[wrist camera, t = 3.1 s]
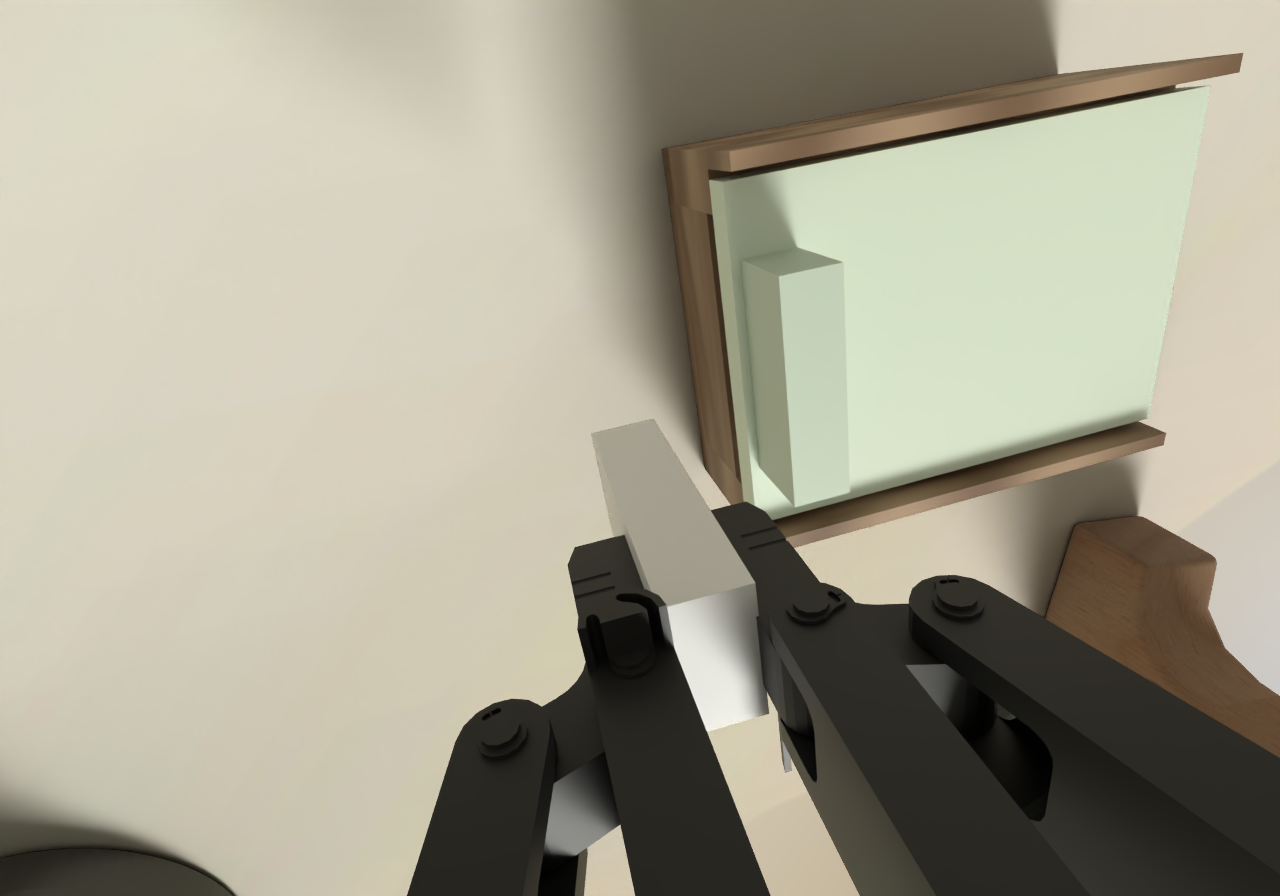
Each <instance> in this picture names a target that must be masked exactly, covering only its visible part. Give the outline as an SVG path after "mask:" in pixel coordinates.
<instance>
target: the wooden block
mask: <svg viewBox="0 0 1280 896" xmlns="http://www.w3.org/2000/svg"><path fill="white" fill-rule="evenodd" d="M1216 565H1217V563H1216V559H1215V558H1214V557H1213V556H1212V555H1211V554H1209V553H1207V552H1205V551H1204V550H1202V549H1200V548H1198V547H1196V546H1195V545H1193V544H1191V543H1189V542H1188V541H1186V540H1184V539H1182V538H1180V537H1179V536H1177V535H1175V534H1173V533H1171V532H1170V531H1168V530H1166V529H1164V528H1162V527H1161V526H1159V525H1157V524H1155V523H1153V522H1152V521H1150V520H1148V519H1146V518H1144V517H1140V516H1134V517H1125V518H1117V519H1109V520H1100V521H1092V522H1083V523H1079V524H1077V525H1076V526H1075V527H1074V530H1073V533H1072V536H1071V539H1070V542H1069V545H1068V548H1067V551H1066V555H1065V558H1064V561H1063V564H1062V567H1061V570H1060V573H1059V576H1058V579H1057V583H1056V586H1055V589H1054V592H1053V595H1052V598H1051V601H1050V604H1049V608H1048V611H1047V614H1046V617H1045V619H1047V620H1048V621H1050V622H1052V623H1053V624H1055V625H1057V626H1058V627H1060V628H1062V629H1063V630H1065V631H1067V632H1068V633H1070V634H1072V635H1073V636H1075V637H1077V638H1079V639H1080V640H1082V641H1084V642H1085V643H1087V644H1089V645H1090V646H1092V647H1094V648H1095V649H1097V650H1099V651H1100V652H1102V653H1104V654H1106V655H1107V656H1109V657H1111V658H1112V659H1114V660H1116V661H1117V662H1119V663H1121V664H1122V665H1124V666H1126V667H1127V668H1129V669H1131V670H1133V671H1134V672H1136V673H1138V674H1139V675H1141V676H1143V677H1144V678H1146V679H1148V680H1149V681H1151V682H1153V683H1154V684H1156V685H1158V686H1160V687H1161V688H1163V689H1165V690H1166V691H1168V692H1170V693H1171V694H1173V695H1175V696H1176V697H1178V698H1180V699H1181V700H1183V701H1185V702H1187V703H1188V704H1190V705H1192V706H1193V707H1195V708H1197V709H1198V710H1200V711H1202V712H1203V713H1205V714H1207V715H1208V716H1210V717H1212V718H1214V719H1215V720H1217V721H1219V722H1220V723H1222V724H1224V725H1225V726H1227V727H1229V728H1230V729H1232V730H1234V731H1235V732H1237V733H1239V734H1241V735H1242V736H1244V737H1246V738H1247V739H1249V740H1251V741H1252V742H1254V743H1256V744H1257V745H1259V746H1261V747H1262V748H1264V749H1266V750H1268V751H1269V752H1271V753H1273V754H1274V755H1276V756H1278V757H1279V758H1280V696H1279V695H1278V694H1276V693H1275V692H1273V691H1271V690H1270V689H1269V688H1267V687H1266V686H1264V685H1263V684H1261V683H1260V682H1259V681H1258V680H1257V679H1256V678H1255V677H1254V676H1253V675H1252V674H1251V673H1250V672H1249V671H1248V670H1247V669H1246V668H1245V667H1244V666H1243V665H1242V664H1241V663H1240V662H1239V661H1238V660H1237V659H1236V658H1235V657H1234V656H1232V655H1231V654H1230V653H1229V652H1228V651H1227V650H1226V649H1225V647H1224V645H1223V642H1222V640H1221V638H1220V635H1219V633H1218V631H1217V629H1216V626H1215V624H1214V621H1213V619H1212V617H1211V614H1210V612H1209V610H1208V605H1209V600H1210V595H1211V590H1212V585H1213V580H1214V575H1215V570H1216Z"/></svg>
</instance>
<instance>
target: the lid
mask: <svg viewBox="0 0 1280 896" xmlns="http://www.w3.org/2000/svg"><path fill="white" fill-rule="evenodd" d="M1210 88H1211V86H1198V87H1184V88H1174V89H1169V90H1164V91H1158V92H1153V93H1148V94H1143V95H1138V96H1133V97H1128V98H1123V99H1118V100H1113V101H1108V102H1103V103H1097V104H1092V105H1087V106H1082V107H1077V108H1072V109H1067V110H1062V111H1057V112H1052V113H1047V114H1042V115H1036V116H1031V117H1026V118H1021V119H1016V120H1011V121H1006V122H1001V123H996V124H991V125H986V126H981V127H976V128H970V129H965V130H960V131H955V132H950V133H945V134H940V135H935V136H930V137H925V138H920V139H915V140H909V141H904V142H899V143H894V144H889V145H884V146H879V147H874V148H869V149H864V150H859V151H854V152H848V153H843V154H838V155H833V156H828V157H823V158H818V159H813V160H808V161H803V162H798V163H793V164H788V165H782V166H777V167H772V168H767V169H762V170H757V171H752V172H747V173H742V174H737V175H732V176H727V177H721V178H716V179H711V180H709V185H710V195H711V204H712V213H713V222H714V232H715V241H716V250H717V259H718V269H719V278H720V287H721V296H722V306H723V315H724V324H725V333H726V343H727V352H728V361H729V370H730V380H731V389H732V398H733V407H734V416H735V426H736V435H737V444H738V453H739V463H740V472H741V481H742V490H743V500H744V502H745V501H747V502H748V503H750V504H752V505H754V506H756V507H758V508H760V509H762V510H764V511H766V513H767V514H768V515H769V517H770V518H771V519H772V520H775V519H778V518H782V517H786V516H789V515H793V514H797V513H800V512H804V511H808V510H812V509H815V508H819V507H823V506H826V505H830V504H834V503H837V502H841V501H845V500H848V499H852V498H856V497H860V496H863V495H867V494H871V493H874V492H878V491H882V490H885V489H889V488H893V487H896V486H900V485H904V484H907V483H911V482H915V481H919V480H922V479H926V478H930V477H933V476H937V475H941V474H944V473H948V472H952V471H955V470H959V469H963V468H966V467H970V466H974V465H978V464H981V463H985V462H989V461H992V460H996V459H1000V458H1003V457H1007V456H1011V455H1014V454H1018V453H1022V452H1025V451H1029V450H1033V449H1037V448H1040V447H1044V446H1048V445H1051V444H1055V443H1059V442H1062V441H1066V440H1070V439H1073V438H1077V437H1081V436H1084V435H1088V434H1092V433H1096V432H1099V431H1103V430H1107V429H1110V428H1114V427H1118V426H1121V425H1125V424H1129V423H1132V422H1136V421H1140V420H1143V419H1147V418H1148V417H1149V412H1150V407H1151V401H1152V396H1153V391H1154V386H1155V380H1156V375H1157V370H1158V364H1159V359H1160V354H1161V348H1162V343H1163V338H1164V332H1165V327H1166V322H1167V317H1168V311H1169V306H1170V301H1171V295H1172V290H1173V285H1174V279H1175V274H1176V269H1177V263H1178V258H1179V253H1180V248H1181V242H1182V237H1183V232H1184V226H1185V221H1186V216H1187V210H1188V205H1189V200H1190V194H1191V189H1192V184H1193V179H1194V173H1195V168H1196V163H1197V157H1198V152H1199V147H1200V141H1201V136H1202V131H1203V125H1204V120H1205V115H1206V109H1207V104H1208V99H1209V94H1210Z"/></svg>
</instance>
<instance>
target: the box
mask: <svg viewBox="0 0 1280 896" xmlns="http://www.w3.org/2000/svg"><path fill="white" fill-rule="evenodd" d="M1242 56H1243V53H1239V54H1230V55H1222V56H1213V57H1204V58H1195V59H1187V60H1178V61H1169V62H1161V63H1152V64H1143V65H1134V66H1126V67H1117V68H1108V69H1100V70H1091V71H1082V72H1073V73H1065V74H1057V75H1052V76H1047V77H1041V78H1036V79H1031V80H1025V81H1020V82H1015V83H1010V84H1004V85H999V86H994V87H988V88H983V89H978V90H972V91H967V92H962V93H957V94H951V95H946V96H941V97H935V98H930V99H925V100H919V101H914V102H909V103H903V104H898V105H893V106H888V107H882V108H877V109H872V110H866V111H861V112H856V113H850V114H845V115H840V116H835V117H829V118H824V119H819V120H813V121H808V122H803V123H797V124H792V125H787V126H781V127H776V128H771V129H766V130H760V131H755V132H750V133H744V134H739V135H734V136H728V137H723V138H718V139H713V140H707V141H702V142H697V143H691V144H686V145H681V146H675V147H670V148H665V149H662V153H663V160H664V167H665V175H666V182H667V190H668V197H669V205H670V212H671V220H672V227H673V234H674V242H675V249H676V257H677V264H678V272H679V279H680V287H681V294H682V301H683V309H684V316H685V324H686V331H687V339H688V346H689V354H690V361H691V368H692V376H693V383H694V391H695V398H696V406H697V413H698V421H699V428H700V435H701V443H702V450H703V458H704V465H705V469H706V471H707V472H708V474H709V475H710V476H711V478H712V479H713V481H714V482H715V483H716V485H717V486H718V487H719V489H720V490H721V492H722V493H723V494H724V496H725V497H726V499H727V500H728V501H729V503H730V504H731V505H734V504H738V503H741V502H744V500H743V490H742V481H741V472H740V463H739V453H738V444H737V435H736V426H735V416H734V407H733V398H732V389H731V380H730V370H729V361H728V352H727V343H726V333H725V324H724V315H723V306H722V296H721V287H720V278H719V269H718V259H717V250H716V241H715V232H714V222H713V213H712V204H711V195H710V185H709V180H711V179H716V178H721V177H727V176H732V175H737V174H742V173H747V172H752V171H757V170H762V169H767V168H772V167H777V166H782V165H788V164H793V163H798V162H803V161H808V160H813V159H818V158H823V157H828V156H833V155H838V154H843V153H848V152H854V151H859V150H864V149H869V148H874V147H879V146H884V145H889V144H894V143H899V142H904V141H909V140H915V139H920V138H925V137H930V136H935V135H940V134H945V133H950V132H955V131H960V130H965V129H970V128H976V127H981V126H986V125H991V124H996V123H1001V122H1006V121H1011V120H1016V119H1021V118H1026V117H1031V116H1036V115H1042V114H1047V113H1052V112H1057V111H1062V110H1067V109H1072V108H1077V107H1082V106H1087V105H1092V104H1097V103H1103V102H1108V101H1113V100H1118V99H1123V98H1128V97H1133V96H1138V95H1143V94H1148V93H1153V92H1158V91H1164V90H1169V89H1174V88H1175V86H1176V85H1177V84H1182V83H1187V82H1192V81H1197V80H1202V79H1207V78H1212V77H1217V76H1222V75H1228V74H1233V73H1238V72H1239V71H1240V66H1241V61H1242ZM1165 435H1166V433H1164V432H1162V431H1160V430H1157V429H1155V428H1153V427H1150V426H1148V425H1145V424H1143V423H1141V422H1138V421H1136V422H1132V423H1129V424H1125V425H1121V426H1118V427H1114V428H1110V429H1107V430H1103V431H1099V432H1096V433H1092V434H1088V435H1084V436H1081V437H1077V438H1073V439H1070V440H1066V441H1062V442H1059V443H1055V444H1051V445H1048V446H1044V447H1040V448H1037V449H1033V450H1029V451H1025V452H1022V453H1018V454H1014V455H1011V456H1007V457H1003V458H1000V459H996V460H992V461H989V462H985V463H981V464H978V465H974V466H970V467H966V468H963V469H959V470H955V471H952V472H948V473H944V474H941V475H937V476H933V477H930V478H926V479H922V480H919V481H915V482H911V483H907V484H904V485H900V486H896V487H893V488H889V489H885V490H882V491H878V492H874V493H871V494H867V495H863V496H860V497H856V498H852V499H848V500H845V501H841V502H837V503H834V504H830V505H826V506H823V507H819V508H815V509H812V510H808V511H804V512H800V513H797V514H793V515H789V516H786V517H782V518H778V519H775V520H773V522H774V523H775V524H776V526H777V529H779V530H780V531H781V532H782V534H783V535H784V536H785V537H786V541H789V543H790V544H791V545H792V547H793V548H795V547H799V546H802V545H806V544H809V543H813V542H817V541H820V540H824V539H827V538H831V537H835V536H838V535H842V534H845V533H849V532H853V531H856V530H860V529H863V528H867V527H871V526H874V525H878V524H881V523H885V522H888V521H892V520H896V519H899V518H903V517H906V516H910V515H914V514H917V513H921V512H924V511H928V510H932V509H935V508H939V507H942V506H946V505H950V504H953V503H957V502H960V501H964V500H968V499H971V498H975V497H978V496H982V495H985V494H989V493H993V492H996V491H1000V490H1003V489H1007V488H1011V487H1014V486H1018V485H1021V484H1025V483H1029V482H1032V481H1036V480H1039V479H1043V478H1047V477H1050V476H1054V475H1057V474H1061V473H1065V472H1068V471H1072V470H1075V469H1079V468H1083V467H1086V466H1090V465H1093V464H1097V463H1100V462H1104V461H1108V460H1111V459H1115V458H1118V457H1122V456H1126V455H1129V454H1133V453H1136V452H1140V451H1144V450H1147V449H1151V448H1154V447H1158V446H1162V445H1164V440H1165Z"/></svg>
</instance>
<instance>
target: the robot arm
mask: <svg viewBox="0 0 1280 896" xmlns="http://www.w3.org/2000/svg"><path fill="white" fill-rule="evenodd" d="M591 435H592V439H593V444H594V449H595V453H596V458H597V463H598V467H599V472H600V477H601V482H602V486H603V491H604V496H605V500H606V505H607V510H608V514H609V519H610V524H611V528H612V532H613V535H614V537H613V538H609V539H605V540H601V541H597V542H594V543H590V544H586V545H582V546H578V547H575V548H574V551H573V553H572V556H571V558H570V561H569V563H568V569H569V574H570V579H571V583H572V588H573V593H574V598H575V603H576V607H577V612H578V617H579V618H578V629H577V630H578V634H579V638H580V641H581V645H582V649H583V653H584V657H585V661H586V663H585V666H584V670H583V672H582V674H581V675H580V677H579V678H578V680H577V681H576V683H575V684H574V685H573V686H572V687H571V688H570V689H569V690H568V691H566V692H565V693H563V694H562V695H561V696H559V697H558V698H556V699H555V700H553V701H551V702H549V703H548V704H546V705H544V706H543V707H541V706H540V705H538V704H536V703H534V702H531V701H529V700H523V699H509V700H505V701H501V702H497V703H494V704H492V705H490V706H488V707H486V708H485V709H483V710H481V711H479V712H478V713H476V714H475V715H474V716H473V717H472V718H471V719H470V720H469V721H468V722H467V723H466V724H465V725H464V727H463V728H462V730H461V732H460V734H459V736H458V738H457V740H456V742H455V745H454V748H453V751H452V754H451V758H450V761H449V764H448V767H447V770H446V773H445V777H444V780H443V783H442V786H441V789H440V793H439V796H438V799H437V802H436V805H435V808H434V812H433V815H432V818H431V821H430V824H429V828H428V831H427V834H426V837H425V840H424V843H423V847H422V850H421V853H420V856H419V859H418V863H417V866H416V869H415V872H414V875H413V878H412V882H411V885H410V888H409V891H408V894H407V896H584V887H585V876H586V865H587V854H588V852H587V847H589V846H590V845H591V844H593V843H594V842H596V841H597V840H599V839H600V838H601V837H603V836H604V835H606V834H607V833H609V832H610V831H611V830H613V829H614V828H616V827H617V826H619V825H621V829H622V834H623V839H624V844H625V848H626V853H627V858H628V863H629V868H630V872H631V877H632V882H633V887H634V891H635V896H770V893H769V891H768V888H767V886H766V883H765V880H764V878H763V875H762V873H761V870H760V868H759V865H758V863H757V860H756V857H755V855H754V852H753V849H752V847H751V844H750V842H749V839H748V837H747V834H746V831H745V829H744V826H743V824H742V821H741V819H740V816H739V813H738V811H737V808H736V806H735V803H734V800H733V798H732V795H731V793H730V790H729V788H728V785H727V782H726V780H725V777H724V775H723V772H722V770H721V767H720V764H719V762H718V759H717V757H716V754H715V751H714V749H713V746H712V744H711V741H710V739H709V736H708V733H707V732H709V731H712V730H715V729H719V728H722V727H726V726H729V725H732V724H736V723H739V722H742V721H746V720H749V719H752V718H756V717H759V716H762V715H766V714H769V709H768V699H767V692H768V694H769V696H770V698H771V700H772V702H773V704H774V706H775V708H776V710H777V712H778V721H779V731H780V741H781V752H782V761H783V765H784V769H785V773H786V772H789V771H792V768H791V759H792V761H793V763H794V765H795V767H796V769H797V771H798V773H799V775H800V777H801V779H802V781H803V783H804V785H805V787H806V789H807V791H808V793H809V795H810V796H811V799H812V801H813V802H814V805H815V807H816V809H817V810H818V813H819V814H820V817H821V819H822V821H823V823H824V825H825V827H826V829H827V831H828V833H829V835H830V837H831V839H832V841H833V843H834V845H835V847H836V849H837V851H838V853H839V855H840V857H841V859H842V861H843V863H844V865H845V867H846V869H847V871H848V873H849V875H850V877H851V879H852V881H853V883H854V885H855V887H856V889H857V891H858V893H859V895H860V896H1280V758H1279V757H1278V756H1276V755H1274V754H1273V753H1271V752H1269V751H1268V750H1266V749H1264V748H1262V747H1261V746H1259V745H1257V744H1256V743H1254V742H1252V741H1251V740H1249V739H1247V738H1246V737H1244V736H1242V735H1241V734H1239V733H1237V732H1235V731H1234V730H1232V729H1230V728H1229V727H1227V726H1225V725H1224V724H1222V723H1220V722H1219V721H1217V720H1215V719H1214V718H1212V717H1210V716H1208V715H1207V714H1205V713H1203V712H1202V711H1200V710H1198V709H1197V708H1195V707H1193V706H1192V705H1190V704H1188V703H1187V702H1185V701H1183V700H1181V699H1180V698H1178V697H1176V696H1175V695H1173V694H1171V693H1170V692H1168V691H1166V690H1165V689H1163V688H1161V687H1160V686H1158V685H1156V684H1154V683H1153V682H1151V681H1149V680H1148V679H1146V678H1144V677H1143V676H1141V675H1139V674H1138V673H1136V672H1134V671H1133V670H1131V669H1129V668H1127V667H1126V666H1124V665H1122V664H1121V663H1119V662H1117V661H1116V660H1114V659H1112V658H1111V657H1109V656H1107V655H1106V654H1104V653H1102V652H1100V651H1099V650H1097V649H1095V648H1094V647H1092V646H1090V645H1089V644H1087V643H1085V642H1084V641H1082V640H1080V639H1079V638H1077V637H1075V636H1073V635H1072V634H1070V633H1068V632H1067V631H1065V630H1063V629H1062V628H1060V627H1058V626H1057V625H1055V624H1053V623H1052V622H1050V621H1048V620H1047V619H1045V618H1043V617H1041V616H1040V615H1038V614H1036V613H1035V612H1033V611H1031V610H1030V609H1028V608H1026V607H1025V606H1023V605H1021V604H1020V603H1018V602H1016V601H1014V600H1013V599H1011V598H1009V597H1008V596H1006V595H1004V594H1003V593H1001V592H999V591H998V590H996V589H994V588H993V587H991V586H989V585H987V584H984V583H982V582H980V581H977V580H975V579H973V578H968V577H962V576H957V575H944V576H935V577H932V578H928V579H925V580H922V581H921V582H920V583H918V584H917V585H916V586H915V587H914V588H912V591H911V594H910V597H909V604H886V605H870V604H860V603H855V602H854V601H853V599H852V598H851V597H850V596H849V595H847V594H846V593H845V592H844V591H842V590H841V589H839V588H837V587H834V586H832V585H829V584H826V583H820V582H819V581H818V579H817V578H816V577H815V575H814V574H813V573H812V571H811V570H810V569H809V567H808V566H807V565H806V564H805V562H804V561H803V560H802V558H801V557H800V556H799V554H798V553H797V552H796V550H795V549H794V548H793V547H792V545H791V544H790V543H789V541H786V537H785V536H784V535H783V534H782V532H781V531H780V530H779V529H777V526H776V524H775V523H774V522H773V520H772V519H771V518H770V517H769V515H768V514H767V513H766V511H764V510H762V509H760V508H758V507H756V506H754V505H752V504H750V503H748V502H747V501H745V502H741V503H738V504H734V505H730V506H726V507H722V508H718V509H714V510H710V509H709V507H708V506H707V504H706V502H705V501H704V499H703V498H702V496H701V494H700V493H699V491H698V489H697V488H696V486H695V485H694V483H693V481H692V480H691V478H690V477H689V475H688V473H687V472H686V470H685V469H684V467H683V465H682V464H681V462H680V460H679V459H678V457H677V456H676V454H675V452H674V451H673V449H672V448H671V446H670V444H669V443H668V441H667V440H666V438H665V436H664V435H663V433H662V431H661V430H660V428H659V427H658V425H657V423H656V422H655V420H654V419H650V420H646V421H642V422H638V423H633V424H629V425H625V426H621V427H617V428H612V429H608V430H604V431H600V432H596V433H591ZM0 896H232V894H230V893H229V892H228V891H227V890H226V889H225V888H223V887H222V886H221V885H219V884H218V883H216V882H215V881H213V880H212V879H210V878H208V877H207V876H205V875H203V874H201V873H199V872H197V871H195V870H193V869H190V868H188V867H186V866H183V865H180V864H178V863H175V862H171V861H168V860H165V859H161V858H157V857H153V856H149V855H144V854H139V853H133V852H126V851H117V850H106V849H60V850H48V851H40V852H32V853H26V854H20V855H15V856H10V857H6V858H1V859H0Z"/></svg>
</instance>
